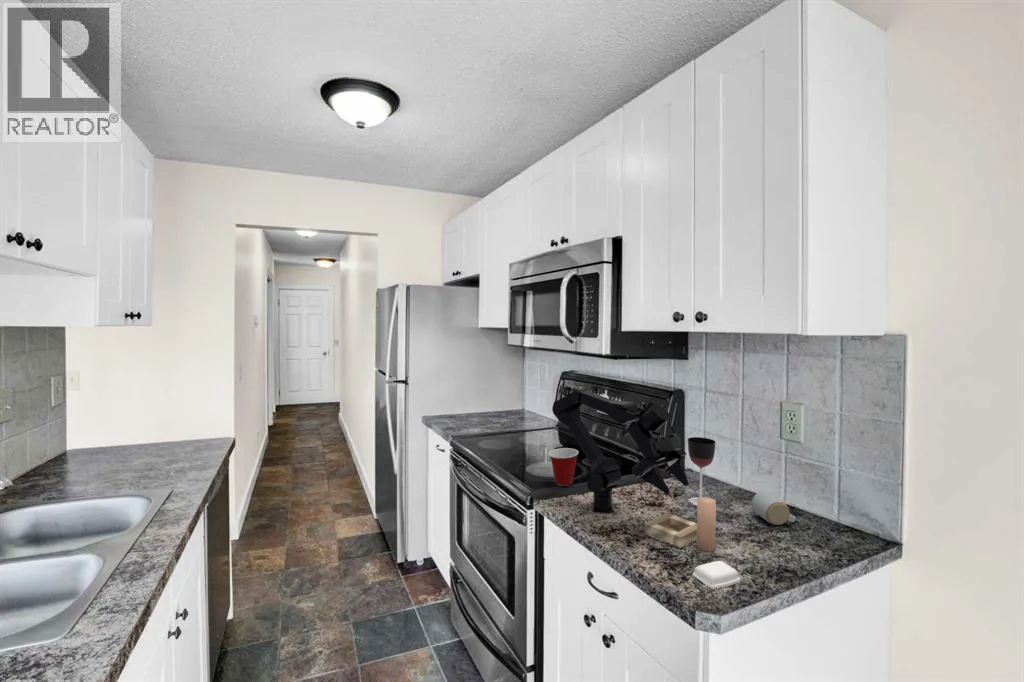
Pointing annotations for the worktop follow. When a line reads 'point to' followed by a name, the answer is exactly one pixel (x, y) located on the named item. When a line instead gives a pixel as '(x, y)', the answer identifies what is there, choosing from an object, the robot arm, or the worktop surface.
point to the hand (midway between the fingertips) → (678, 489)
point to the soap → (716, 574)
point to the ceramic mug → (771, 508)
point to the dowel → (706, 523)
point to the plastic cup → (563, 464)
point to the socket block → (672, 530)
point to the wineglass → (700, 456)
